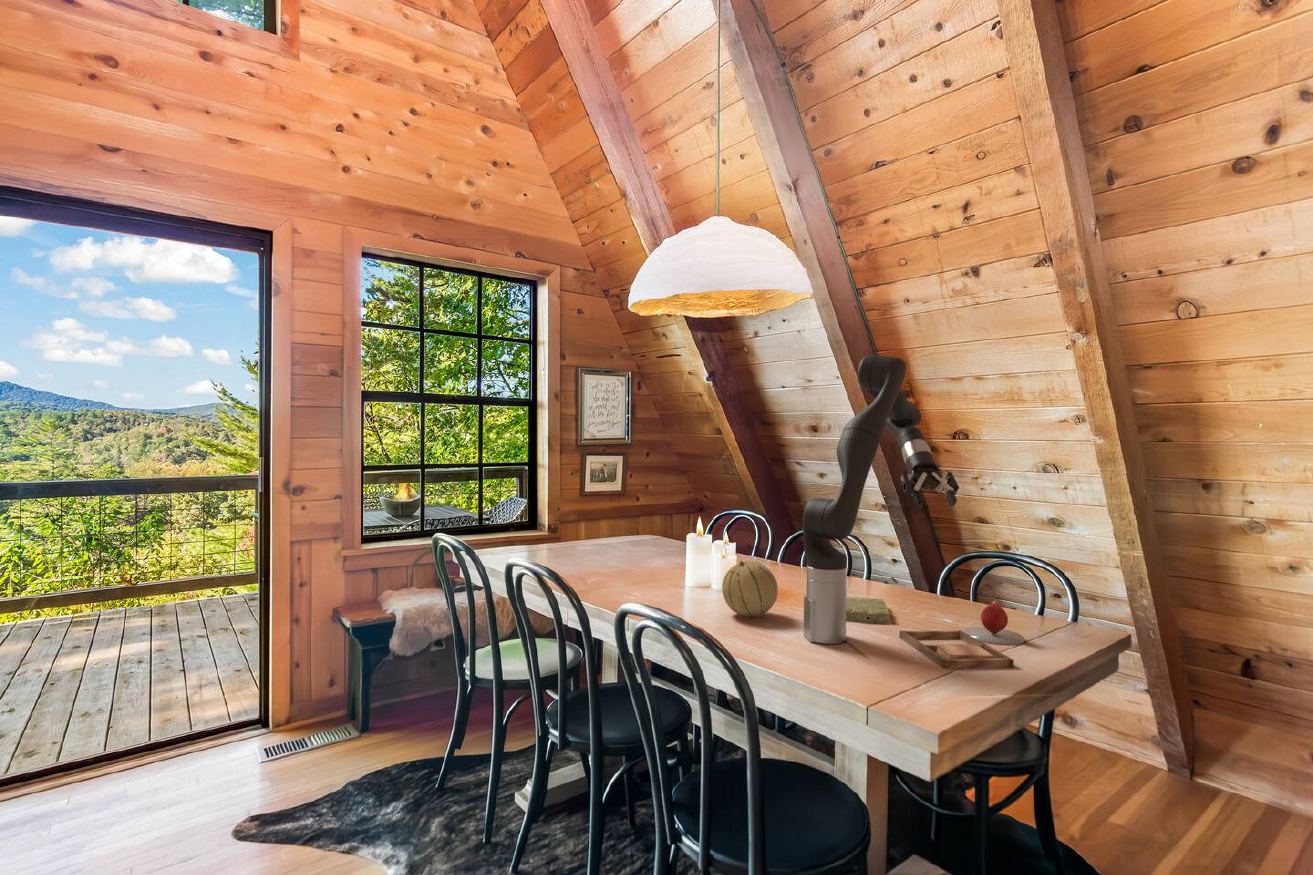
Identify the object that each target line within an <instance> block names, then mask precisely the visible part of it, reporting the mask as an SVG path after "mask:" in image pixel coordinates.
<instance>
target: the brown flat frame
mask: <svg viewBox="0 0 1313 875" xmlns="http://www.w3.org/2000/svg"><path fill="white" fill-rule="evenodd" d="M899 639H901V640H902V641H904V642H905V643H906V644H907V645H909V646H910V647H912V648H914V649H915V650H916V651H918V652H919V653H921V654H922V655H923V656H925V657H926V658H928V659H929V660H931V661H932V662H933V663H935V664H936V665H938V666H939V667H940V668H942V669H993V668H994V669H1000V668H1001V669H1003V668H1004V669H1006V668H1009V669H1011V668H1012V669H1013V668H1014V659H1012V658H1011V657H1010V656H1007V655H1005V654H1004V653H1002V652H1000V651H999V650H996V649H995V648H993V647H991V646H989V645H988V644H987V643H984V642H981V641H979V640H977V639H975V638H973V637H972V636H970V635H968V634H966V633H964V630H900V631H899ZM924 639H925V640H932V639H933V640H935V639H937V640H939V639H941V640H942V639H943V640H944V639H947V640H948V639H955V640H956V639H959V640H961V641H962V642H964V643H963V644H953V645H957V646H980V647H981V648H983V649H984V650H986V651H987V652H989V653H990V654H992V655H993V659H945V658H943V657H942V656H940V655H939V654H937V653H936V651H937V645H938V644H923V642H921V641H919V640H924Z"/></svg>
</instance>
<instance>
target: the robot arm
mask: <svg viewBox="0 0 1313 875" xmlns="http://www.w3.org/2000/svg"><path fill="white" fill-rule="evenodd" d="M906 372H907V365H906V362H905V360H904V359H902V358H901V357H897V356H886V355H878V354H869V355H868V354H867V355H865V356H863V357H862V359H861V360H860V362H859V365H858V368H857V381H858V384H859V386H860V387H861V388H862V390H864V391H865V392H866V393H868V395H870V396H871V397H872V398H873V399H874V400H873V401H872V402H871V403H870V404H869V405H868V406H866V408H864V409H862V410H861V411H860V412H859V413H857V414H856V415H854V416H853V417H852V418H851V419H850V420H848V421H847V422H846V424H845V426H844V427H843V430H842V433H841V435H840V438H839V440H838V442H837V446H836V457H837V458H836V459H837V462H838V467H839V469H840V473H841V478H842V480H841V486H840V489H839V492H838V495H837V497H836V499H833V498H822V497H821V498H819V497H815V498H812V499H810V500H808V501H807V503H806V504H805V507H804V509H803V510H804V511H803V515H802V530H803V550H804V555H805V558H806V595H804V596H803V636H804V637H805V638H806V639H807V640H808V641H809V643H810V642H811V643H819V644H825V645H826V644H827V645H828V644H829V645H836V644H841V643H845V642H846V641H847V621H846V597H847V584H848V583H847V582H848V581H847V577H848V576H847V574H848V572H847V569H848V568H847V565H848V564H847V563H848V561H847V560H848V559H847V556H846V555H845V554H844V553H843V552H842V551H840V550H838V549H837V548H836V547H835V546H834V545H833V544H832V543H831V540H844V539H847V538H848V537H849V536H850V535H851V533H852V531H853V529H854V527H855V524H856V522H857V517H858V513H859V509H860V508H859V507H860V503H861V500H862V497H863V496H862V495H863V491H864V488H865V484H866V482H867V479H868V476H869V474H870V473H869V472H870V470H871V466H872V464H873V462H874V459H875V457H876V454H877V452H878V448H879V446H880V442H881V439H882V436H883V433H884V431H885V428H886V430H887V431H888V432H889V433H890V434H891V435H892V436H893V437H894V439H895V440H896V442H897V443H898V446H899V448H900V451H901V454H902V457H903V461H904V464H905V466H906V468H907V471H908V473H907V472H906V471H903V472H902V474H901V475H900V478H899V480H900V484H901V487H902V490H903V493H904V494H905V495H909V494H910V496H912V497H913V499H914V502H915V504H916V505H918V506H919V507H923V505H924V503H925V500H924V498H923V495H922V493H921V490H920V489H923V490H936V491H937V492H939V493H942V494H943V495H945V497H946V499H947V502H948V504H949V506H950V507H951V508H953V507H955V505H956V503H957V501H958V499H957V496H956V495H957V493H958V491H959V490H960V486H959V484H958V482H957V480H956V478H955V477H954V475H953V472H951V471H949V472H948V471H947V473H945V474H942V473H941V472H940V471H939V467H938V464H937V462H936V460H935V457H934V454H933V452H932V451H931V450H932V449H931V448H930V447H929V445H928V443H927V441H926V439H925V436H924V434H923V432H922V430H921V429H920V428H918V427H917V426H918V425H920V424H921V421H922V413H921V410H920V409H919V407H917V405H916V404H914V403H913V402H912V401H909V400H908V398H907V396H906V394H905V393H904V392H903V391H902V390H901V389H902V386H903V383H904V380H905V377H906ZM910 481H911V482H913V483H914V484H915V486H914V487H912V484H911V482H910ZM830 539H831V540H830Z"/></svg>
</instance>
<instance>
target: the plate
mask: <svg viewBox="0 0 1313 875" xmlns="http://www.w3.org/2000/svg"><path fill="white" fill-rule="evenodd" d="M963 632H964V633H966V634H968V635H970V636H972V637H973V638H975V639H977V640H979V641H981V642H982V643H984V644H991V645H999V646H1000V645H1001V646H1013V645H1020V644H1024V642H1025V641H1024V636H1023V635H1021V634H1020V633H1017V632H1015V631H1012V630H1009V629H1008V630H1007V629H1005V628H1004V629H1003V630H1001V631H999V632H998V633H997V634H992V633H991V632H990V631H988V630H987V629H986V628H985V627H984V626H974V627H967V628H964V630H963Z"/></svg>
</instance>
